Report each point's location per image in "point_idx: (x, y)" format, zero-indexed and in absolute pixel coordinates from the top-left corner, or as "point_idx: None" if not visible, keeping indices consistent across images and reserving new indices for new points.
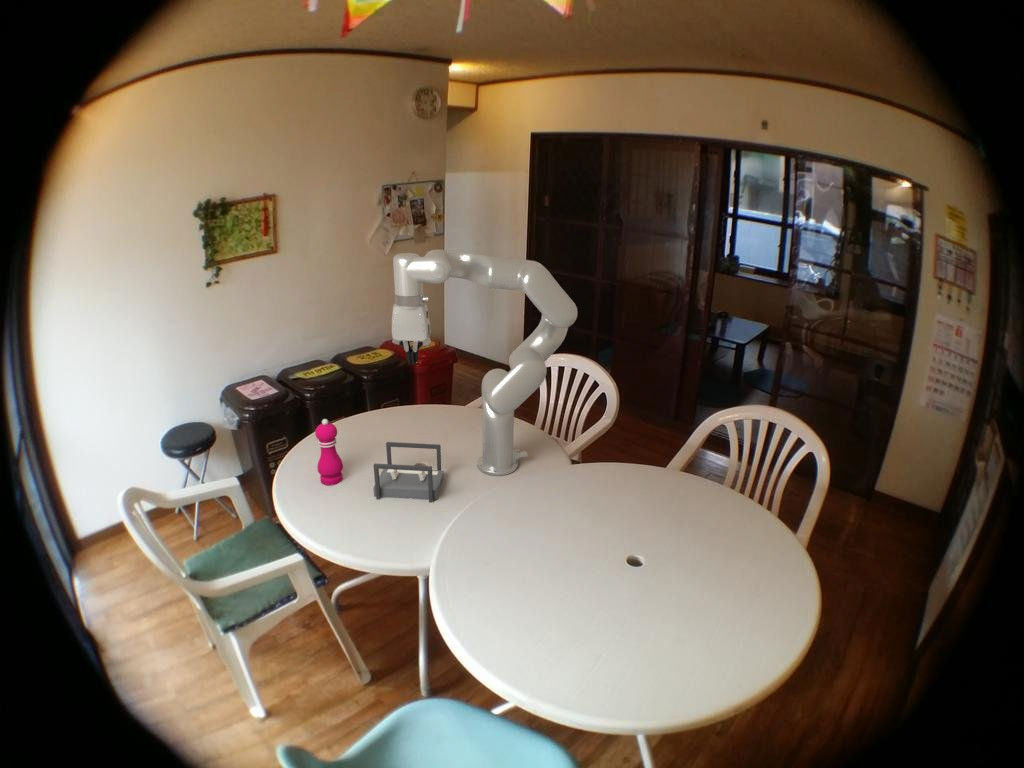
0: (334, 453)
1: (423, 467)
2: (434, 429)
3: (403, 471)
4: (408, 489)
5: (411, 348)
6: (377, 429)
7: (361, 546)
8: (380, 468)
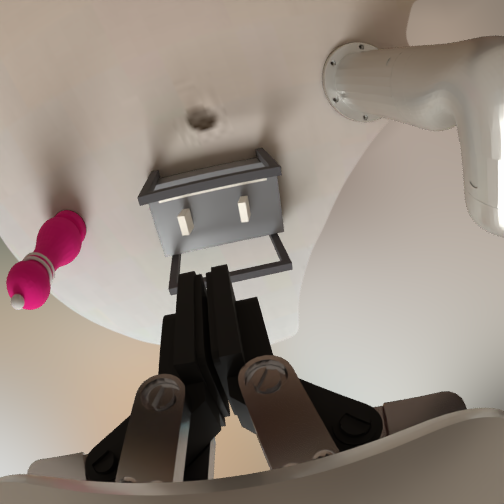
0: (59, 259)
1: (275, 271)
2: None
3: None
4: (231, 242)
5: (204, 390)
6: (40, 20)
7: None
8: None
